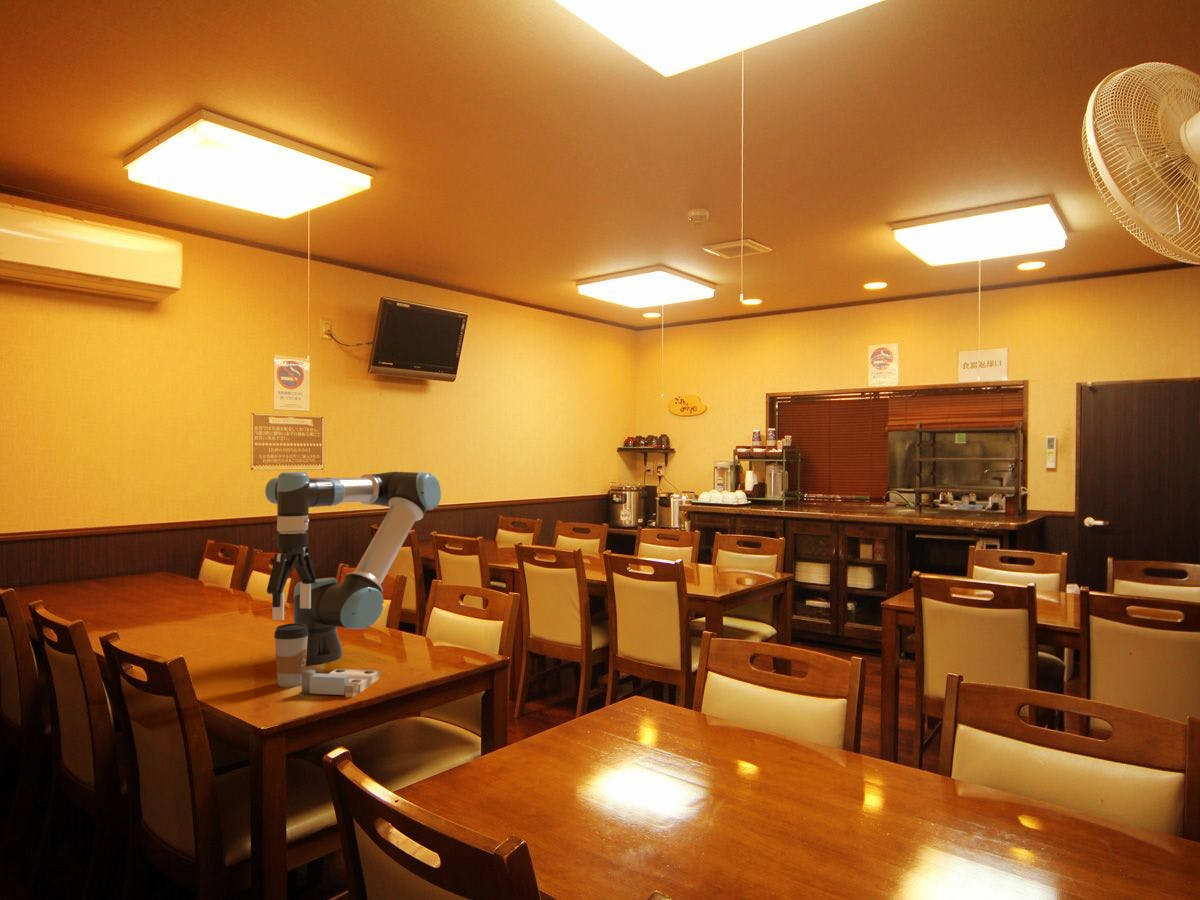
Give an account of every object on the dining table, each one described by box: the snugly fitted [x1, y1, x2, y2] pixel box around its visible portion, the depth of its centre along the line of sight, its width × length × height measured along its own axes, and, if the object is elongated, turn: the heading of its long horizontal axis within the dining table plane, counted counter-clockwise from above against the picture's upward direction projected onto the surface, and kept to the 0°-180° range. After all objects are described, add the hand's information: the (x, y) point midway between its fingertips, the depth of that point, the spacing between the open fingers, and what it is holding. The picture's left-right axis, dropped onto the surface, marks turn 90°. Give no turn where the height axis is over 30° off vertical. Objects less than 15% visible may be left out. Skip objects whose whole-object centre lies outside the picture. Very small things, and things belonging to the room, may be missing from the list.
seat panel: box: [298, 668, 381, 698], centre depth 192 cm, size 16×15×3 cm
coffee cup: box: [273, 623, 309, 688], centre depth 195 cm, size 8×8×15 cm
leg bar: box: [301, 669, 349, 696], centre depth 187 cm, size 12×3×5 cm, turn 83°
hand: (292, 613), depth 195 cm, fingers open, 13 cm apart
